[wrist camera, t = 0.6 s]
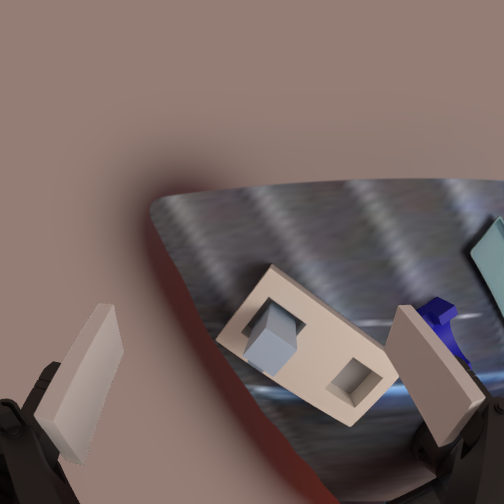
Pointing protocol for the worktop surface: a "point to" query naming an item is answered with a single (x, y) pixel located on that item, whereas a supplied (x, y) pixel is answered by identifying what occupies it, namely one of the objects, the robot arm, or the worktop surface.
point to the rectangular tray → (492, 260)
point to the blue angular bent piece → (442, 323)
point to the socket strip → (316, 349)
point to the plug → (271, 340)
